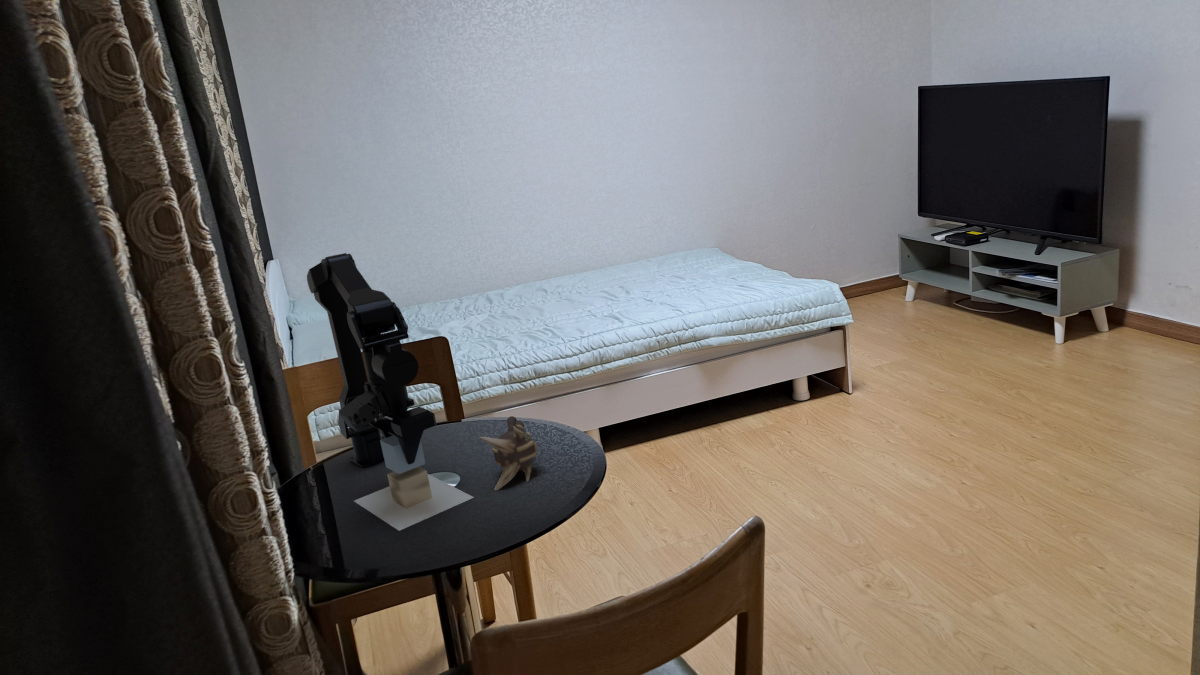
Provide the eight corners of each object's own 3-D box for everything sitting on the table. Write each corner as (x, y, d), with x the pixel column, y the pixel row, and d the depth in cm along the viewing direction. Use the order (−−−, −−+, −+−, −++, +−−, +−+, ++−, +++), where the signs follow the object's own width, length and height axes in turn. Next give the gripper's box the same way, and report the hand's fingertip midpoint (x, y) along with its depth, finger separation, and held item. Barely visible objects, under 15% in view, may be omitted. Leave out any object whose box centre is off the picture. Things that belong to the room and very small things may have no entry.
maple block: (393, 500, 145) (387, 474, 144) (418, 490, 148) (413, 464, 147) (406, 508, 141) (400, 481, 140) (432, 497, 144) (426, 470, 143)
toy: (551, 456, 157) (538, 487, 142) (509, 464, 158) (492, 495, 143) (538, 402, 155) (524, 427, 140) (495, 410, 156) (477, 436, 141)
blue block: (386, 467, 144) (380, 440, 142) (412, 457, 146) (406, 430, 145) (399, 474, 140) (392, 446, 138) (425, 463, 143) (419, 436, 141)
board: (354, 502, 148) (353, 500, 147) (424, 474, 156) (424, 472, 156) (399, 532, 134) (399, 530, 134) (474, 499, 142) (473, 497, 142)
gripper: (317, 379, 141) (338, 464, 145) (363, 398, 127) (384, 491, 131) (378, 360, 148) (396, 442, 152) (428, 376, 133) (446, 466, 137)
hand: (404, 460), depth 143 cm, fingers closed on blue block, 5 cm apart
